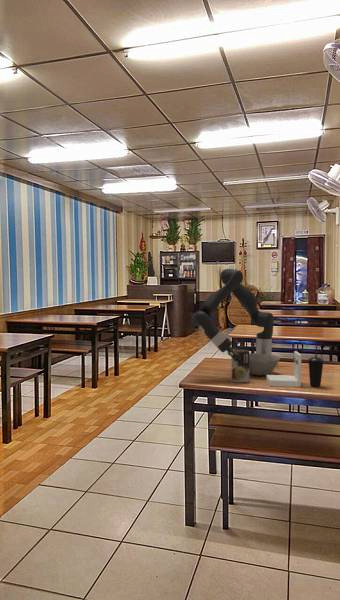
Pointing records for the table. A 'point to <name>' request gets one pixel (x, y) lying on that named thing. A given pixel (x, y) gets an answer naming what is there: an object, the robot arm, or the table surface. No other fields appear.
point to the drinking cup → (315, 370)
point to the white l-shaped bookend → (286, 379)
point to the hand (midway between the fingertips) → (243, 364)
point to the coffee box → (240, 367)
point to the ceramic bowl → (262, 363)
